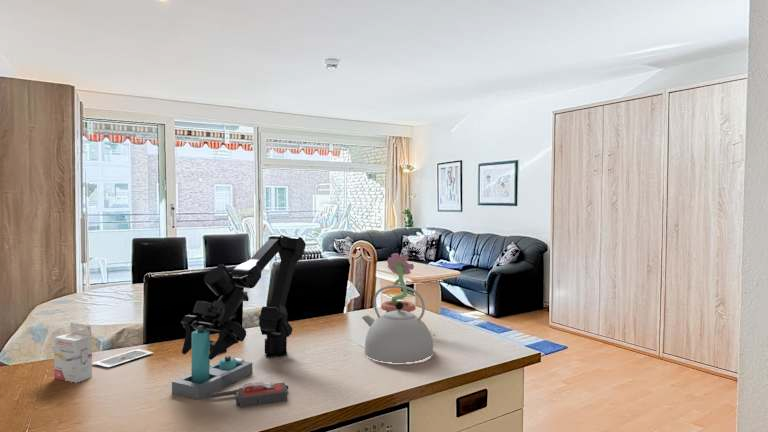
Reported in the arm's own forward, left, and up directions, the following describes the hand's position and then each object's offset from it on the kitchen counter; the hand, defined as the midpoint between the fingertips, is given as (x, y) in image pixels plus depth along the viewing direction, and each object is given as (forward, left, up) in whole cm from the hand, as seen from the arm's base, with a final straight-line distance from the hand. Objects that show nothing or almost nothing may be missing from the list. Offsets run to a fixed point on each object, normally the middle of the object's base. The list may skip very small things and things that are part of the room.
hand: (196, 356), depth 117 cm
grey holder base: (-4, -5, -9) cm, 11 cm away
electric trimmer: (0, -37, -9) cm, 38 cm away
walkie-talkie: (-13, +9, -10) cm, 19 cm away
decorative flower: (-71, -47, -9) cm, 85 cm away
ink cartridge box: (+33, -18, -9) cm, 39 cm away
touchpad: (+24, -31, -10) cm, 41 cm away
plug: (-1, -1, -9) cm, 9 cm away
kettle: (-60, -17, -9) cm, 63 cm away
